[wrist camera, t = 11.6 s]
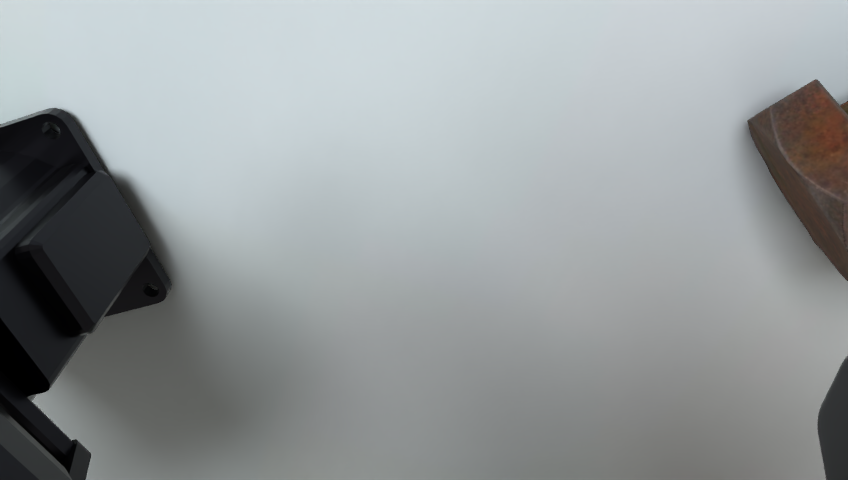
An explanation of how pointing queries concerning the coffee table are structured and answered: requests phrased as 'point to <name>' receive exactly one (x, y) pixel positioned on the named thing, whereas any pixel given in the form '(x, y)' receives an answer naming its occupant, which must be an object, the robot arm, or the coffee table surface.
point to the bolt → (810, 163)
